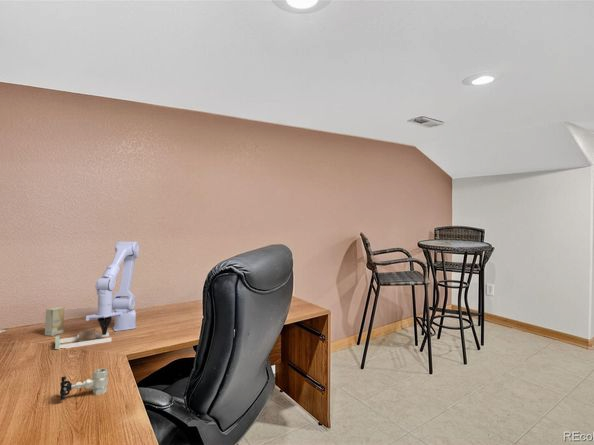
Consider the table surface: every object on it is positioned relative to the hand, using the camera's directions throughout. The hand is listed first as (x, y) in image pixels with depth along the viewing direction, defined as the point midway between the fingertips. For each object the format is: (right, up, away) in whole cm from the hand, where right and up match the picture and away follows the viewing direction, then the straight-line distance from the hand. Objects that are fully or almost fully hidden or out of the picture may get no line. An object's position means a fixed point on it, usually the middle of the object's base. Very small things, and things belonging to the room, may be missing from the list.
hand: (104, 334), depth 153 cm
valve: (+24, -2, -52) cm, 57 cm away
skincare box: (-27, -2, +6) cm, 28 cm away
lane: (-8, -2, -3) cm, 8 cm away
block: (-5, -2, -4) cm, 7 cm away
